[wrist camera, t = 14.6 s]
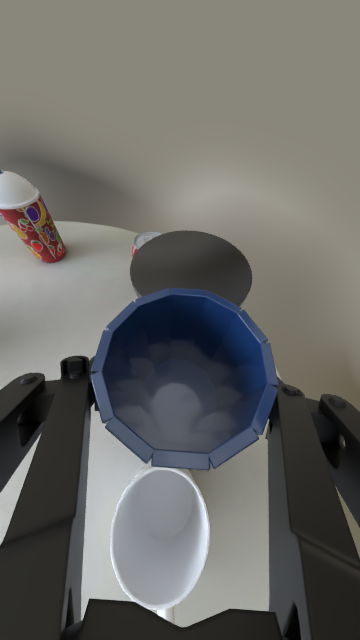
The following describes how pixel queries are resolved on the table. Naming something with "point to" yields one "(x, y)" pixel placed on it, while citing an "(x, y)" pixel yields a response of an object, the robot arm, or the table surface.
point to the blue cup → (184, 379)
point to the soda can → (143, 240)
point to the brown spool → (191, 266)
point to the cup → (160, 538)
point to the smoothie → (29, 217)
